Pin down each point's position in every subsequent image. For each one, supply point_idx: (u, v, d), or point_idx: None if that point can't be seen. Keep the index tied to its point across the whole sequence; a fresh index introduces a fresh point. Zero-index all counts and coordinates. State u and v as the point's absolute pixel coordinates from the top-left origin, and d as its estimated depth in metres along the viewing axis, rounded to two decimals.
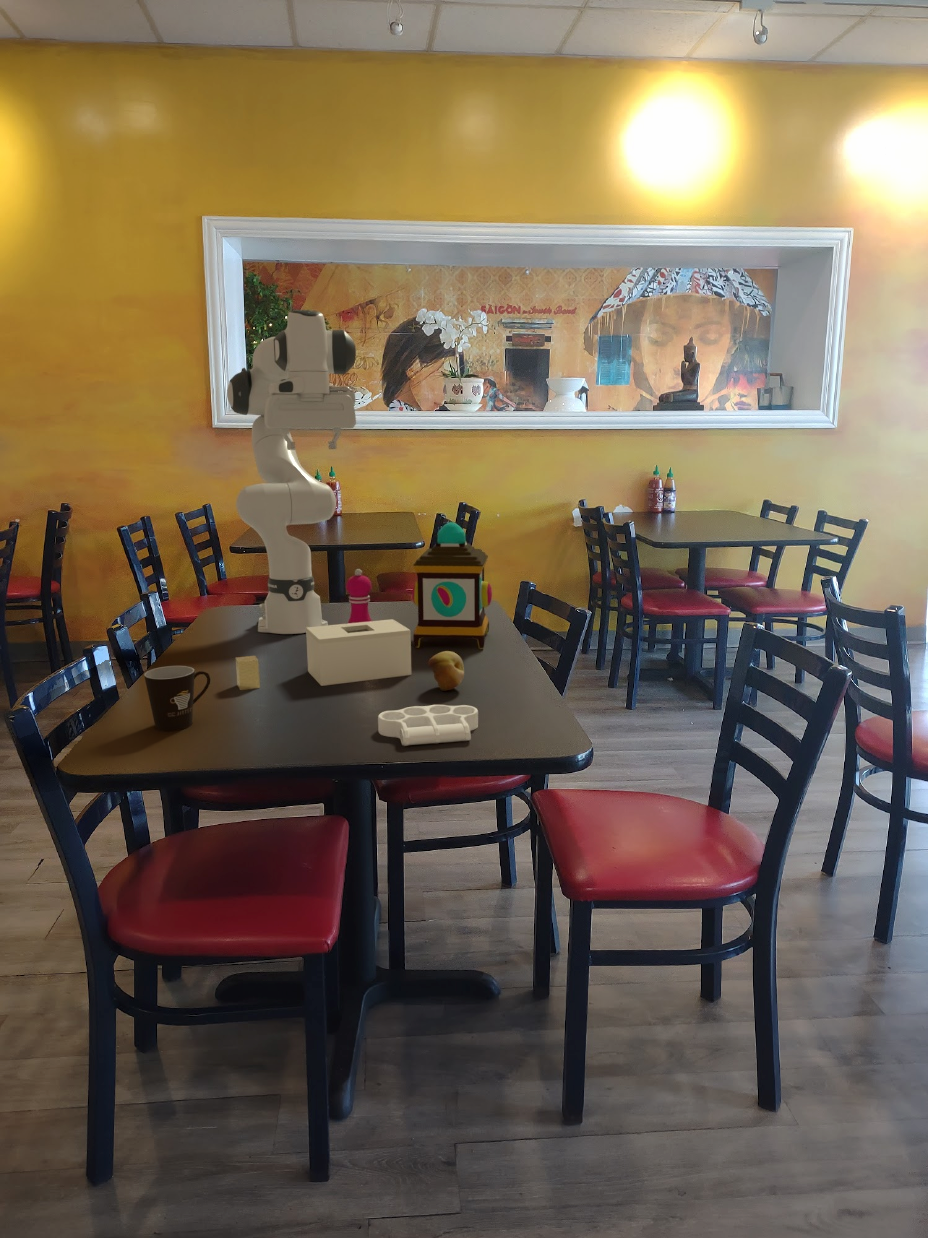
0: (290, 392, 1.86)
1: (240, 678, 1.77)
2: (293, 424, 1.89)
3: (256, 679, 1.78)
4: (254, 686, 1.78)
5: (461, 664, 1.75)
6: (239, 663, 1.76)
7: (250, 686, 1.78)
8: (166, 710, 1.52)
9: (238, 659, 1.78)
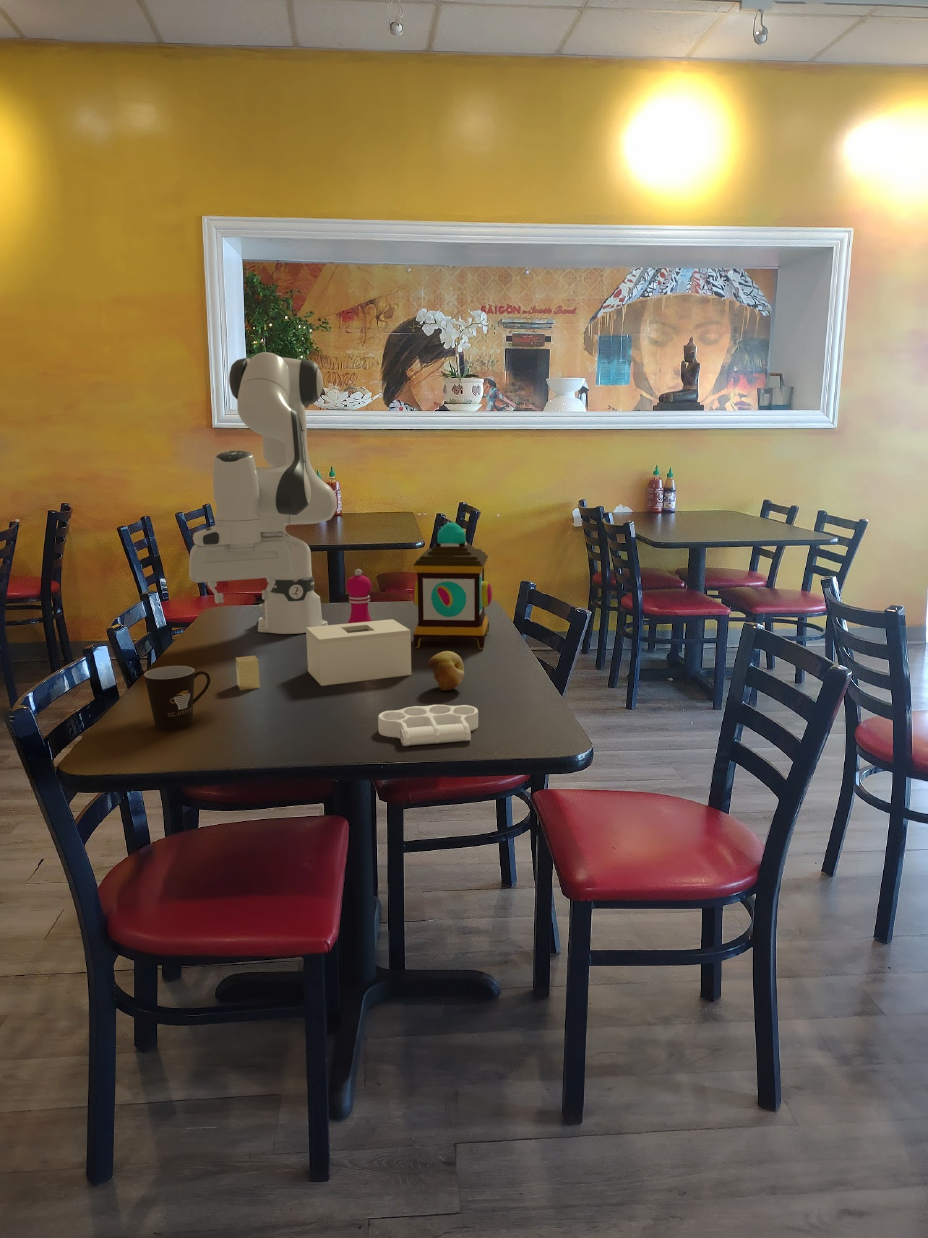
0: (216, 544, 1.68)
1: (240, 678, 1.77)
2: (220, 577, 1.71)
3: (256, 679, 1.78)
4: (254, 686, 1.78)
5: (461, 664, 1.75)
6: (239, 663, 1.76)
7: (250, 686, 1.78)
8: (166, 710, 1.52)
9: (238, 659, 1.78)
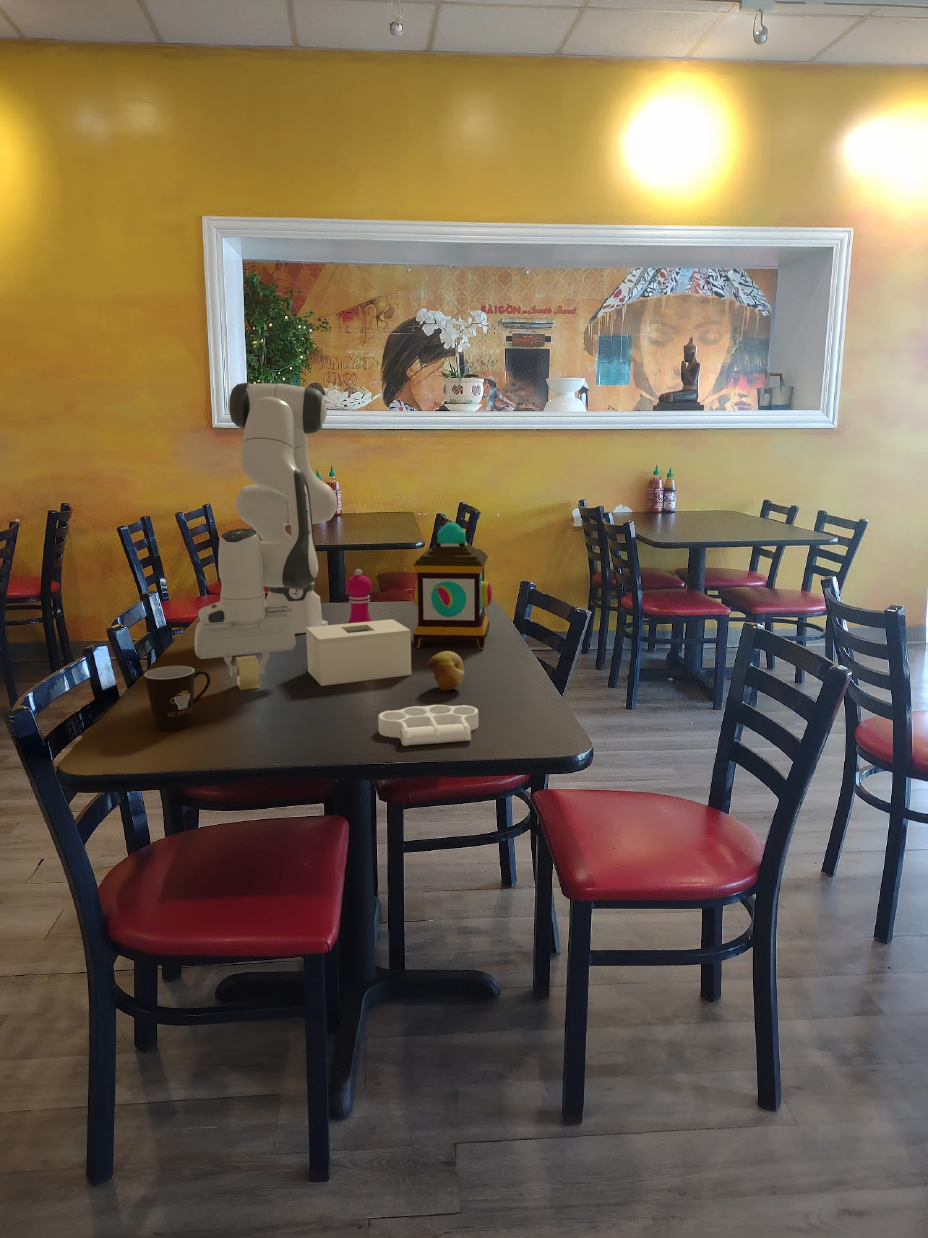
0: (221, 622, 1.71)
1: (240, 678, 1.77)
2: (226, 653, 1.75)
3: (256, 679, 1.78)
4: (254, 686, 1.78)
5: (461, 664, 1.75)
6: (239, 663, 1.76)
7: (250, 686, 1.78)
8: (166, 710, 1.52)
9: (238, 659, 1.78)
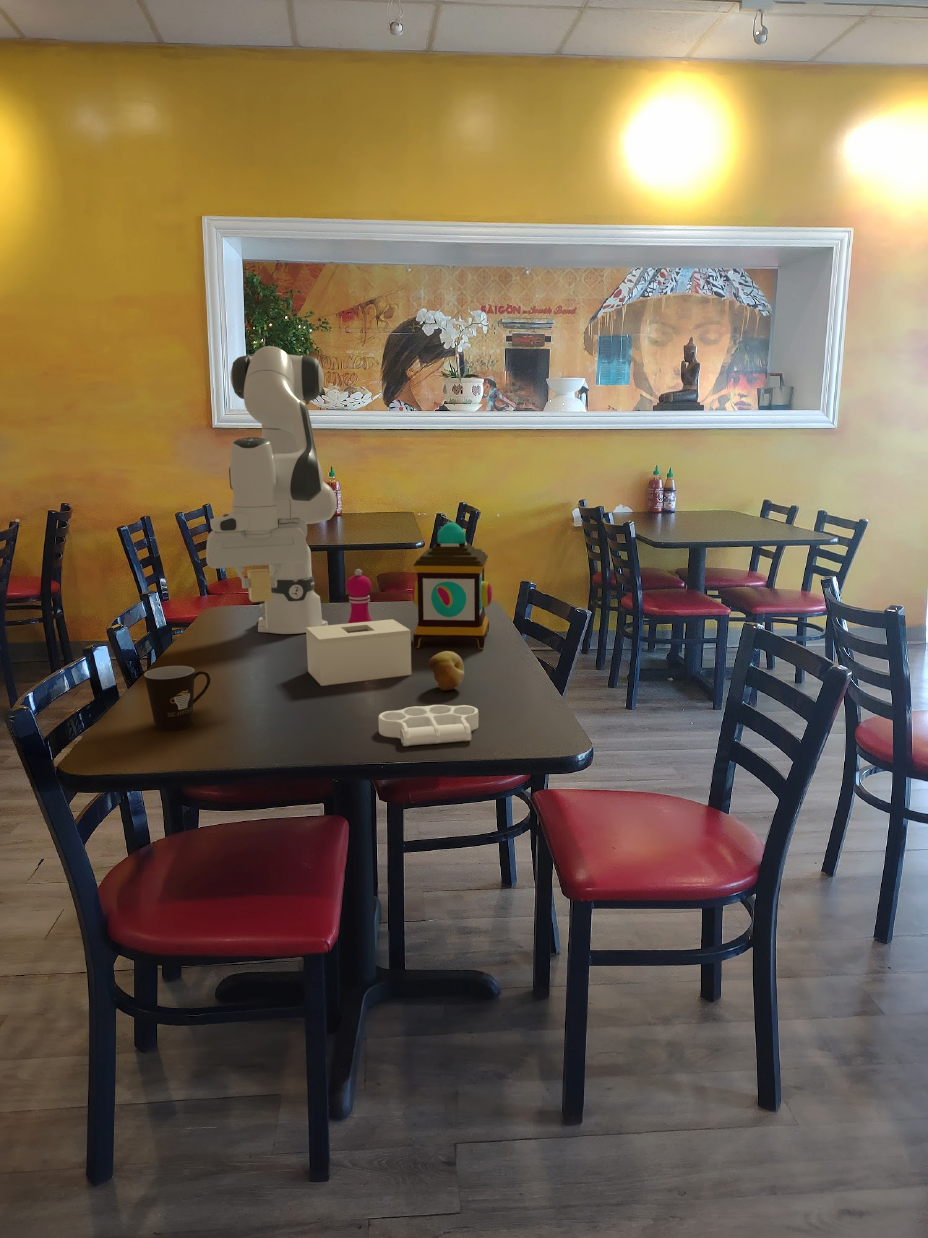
0: (233, 530, 1.69)
1: (252, 589, 1.74)
2: (237, 563, 1.72)
3: (268, 591, 1.75)
4: (266, 598, 1.76)
5: (461, 664, 1.75)
6: (251, 574, 1.73)
7: (262, 598, 1.75)
8: (166, 710, 1.52)
9: (250, 571, 1.75)
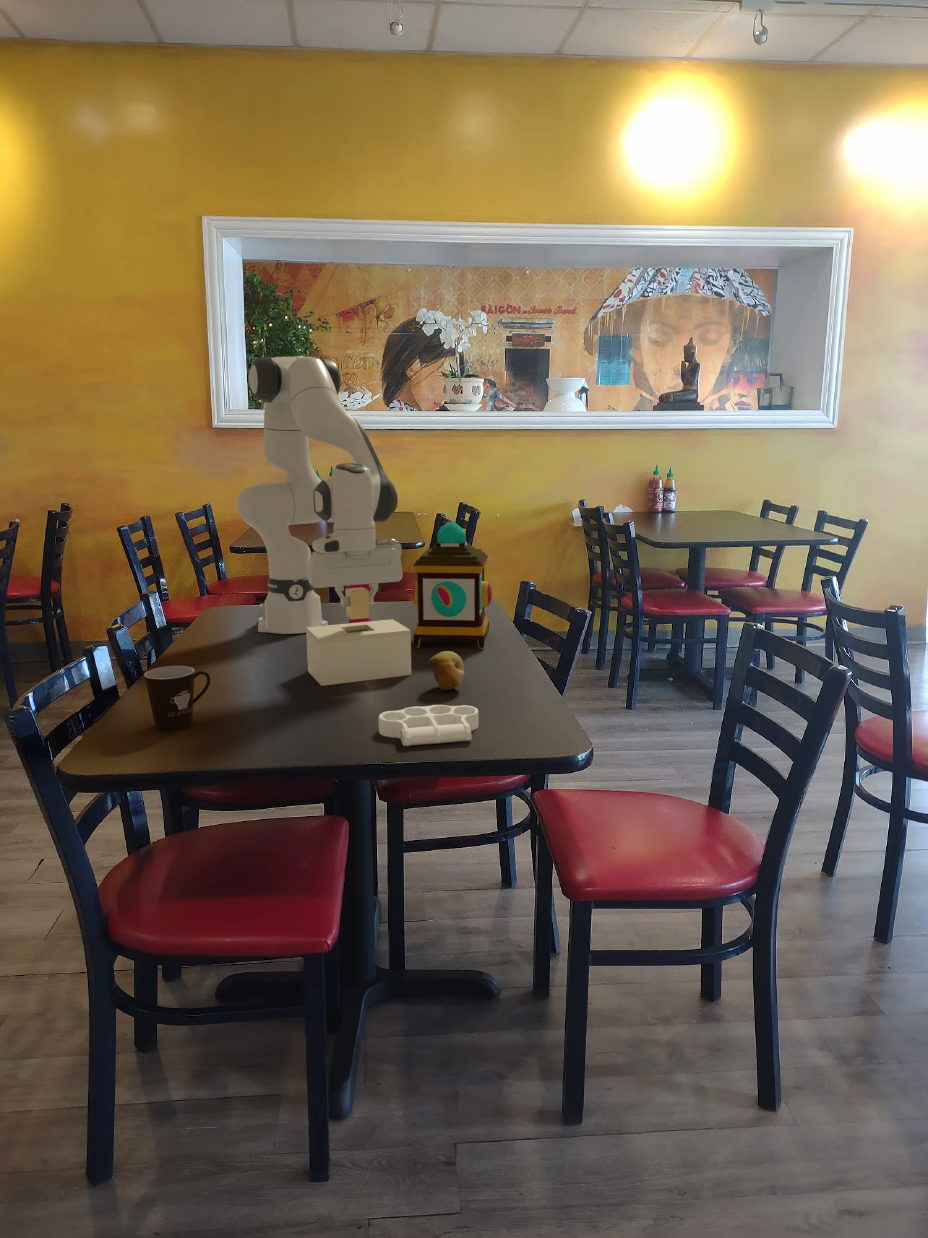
0: (336, 551, 1.78)
1: (351, 607, 1.83)
2: (338, 582, 1.81)
3: (366, 608, 1.84)
4: (364, 616, 1.84)
5: (461, 664, 1.75)
6: (351, 593, 1.82)
7: (360, 616, 1.84)
8: (166, 710, 1.52)
9: (349, 590, 1.84)
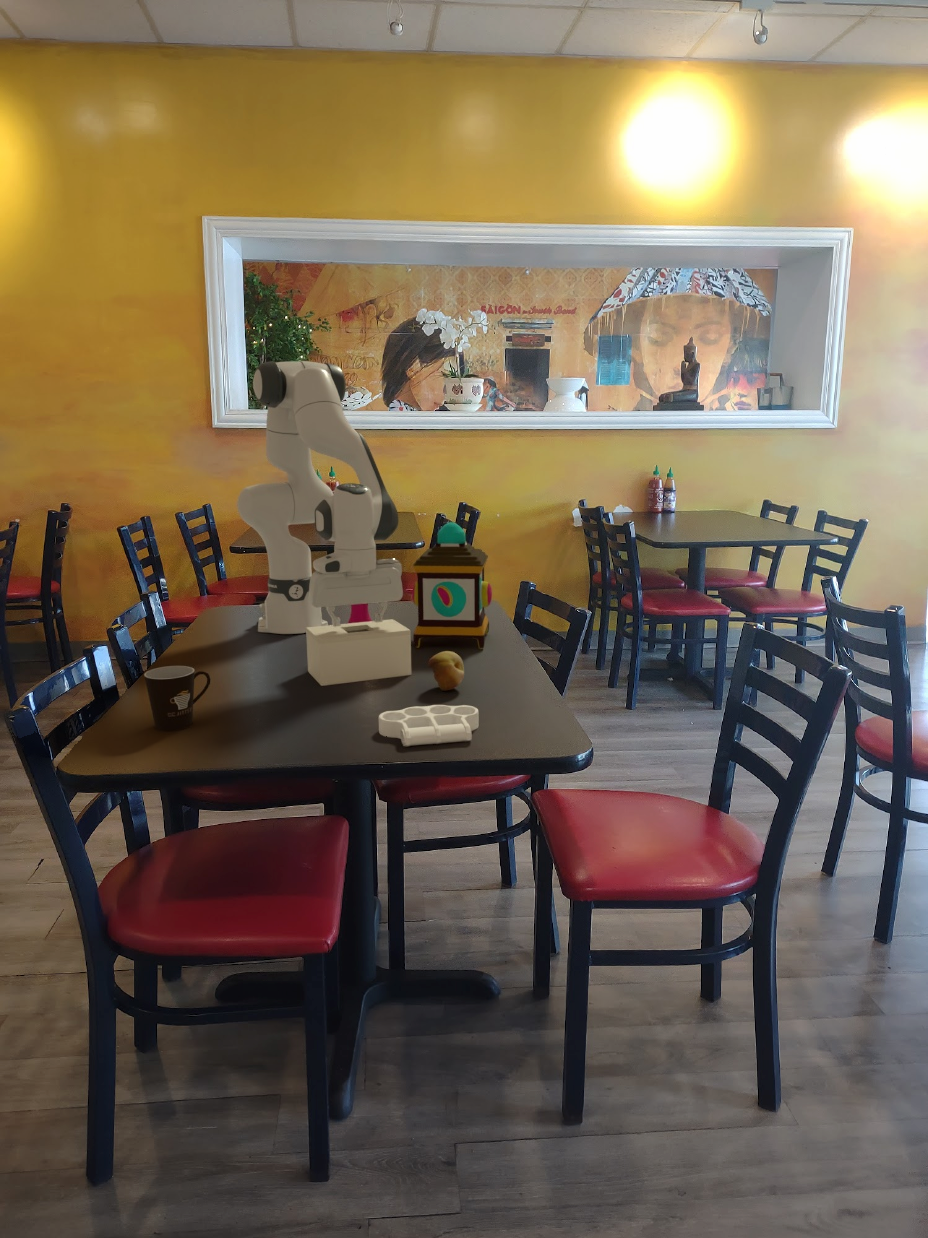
0: (337, 572, 1.79)
1: None
2: (339, 602, 1.82)
3: None
4: None
5: (461, 664, 1.75)
6: None
7: None
8: (166, 710, 1.52)
9: None
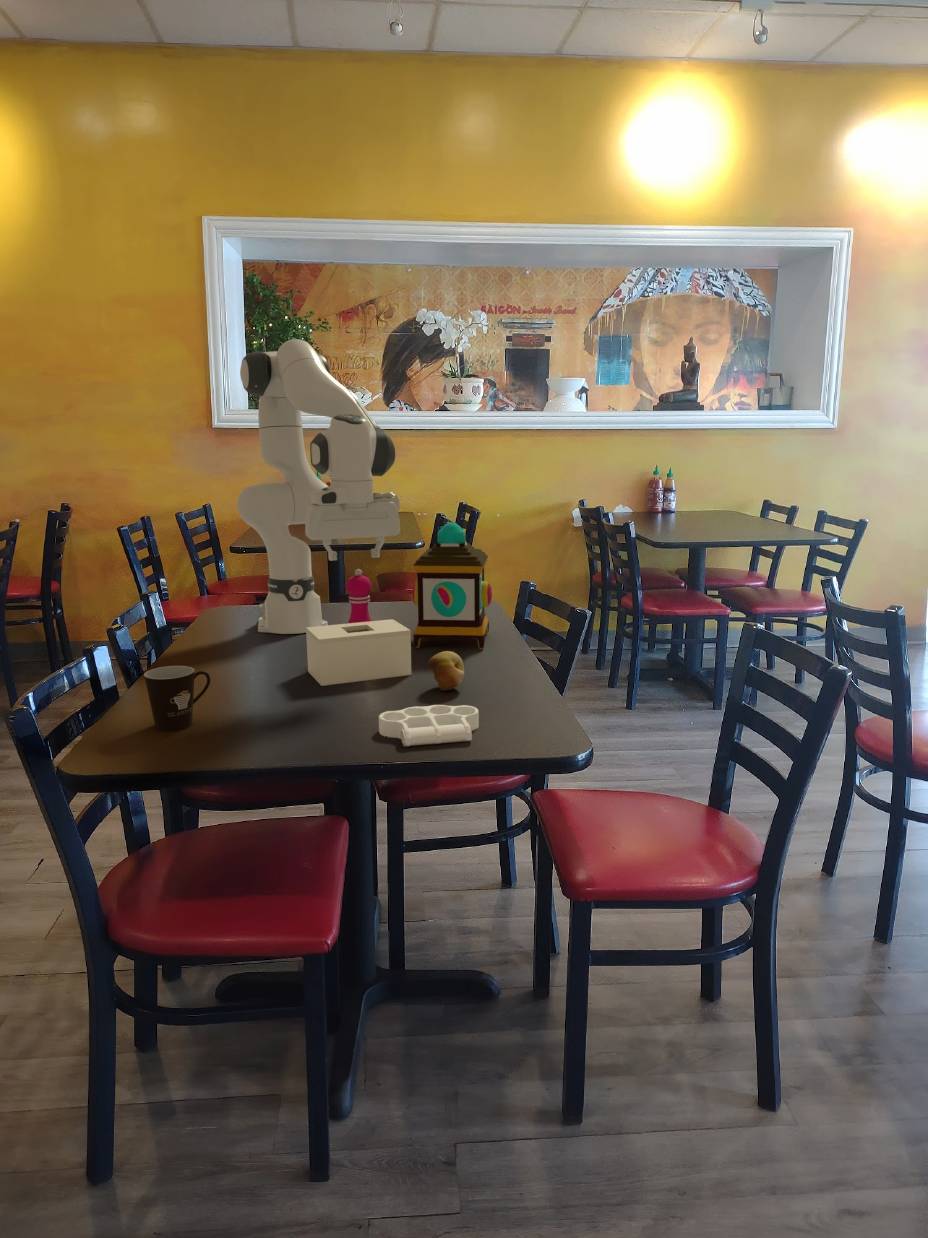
0: (333, 503, 1.76)
1: None
2: (336, 535, 1.79)
3: None
4: None
5: (461, 664, 1.75)
6: None
7: None
8: (166, 710, 1.52)
9: None
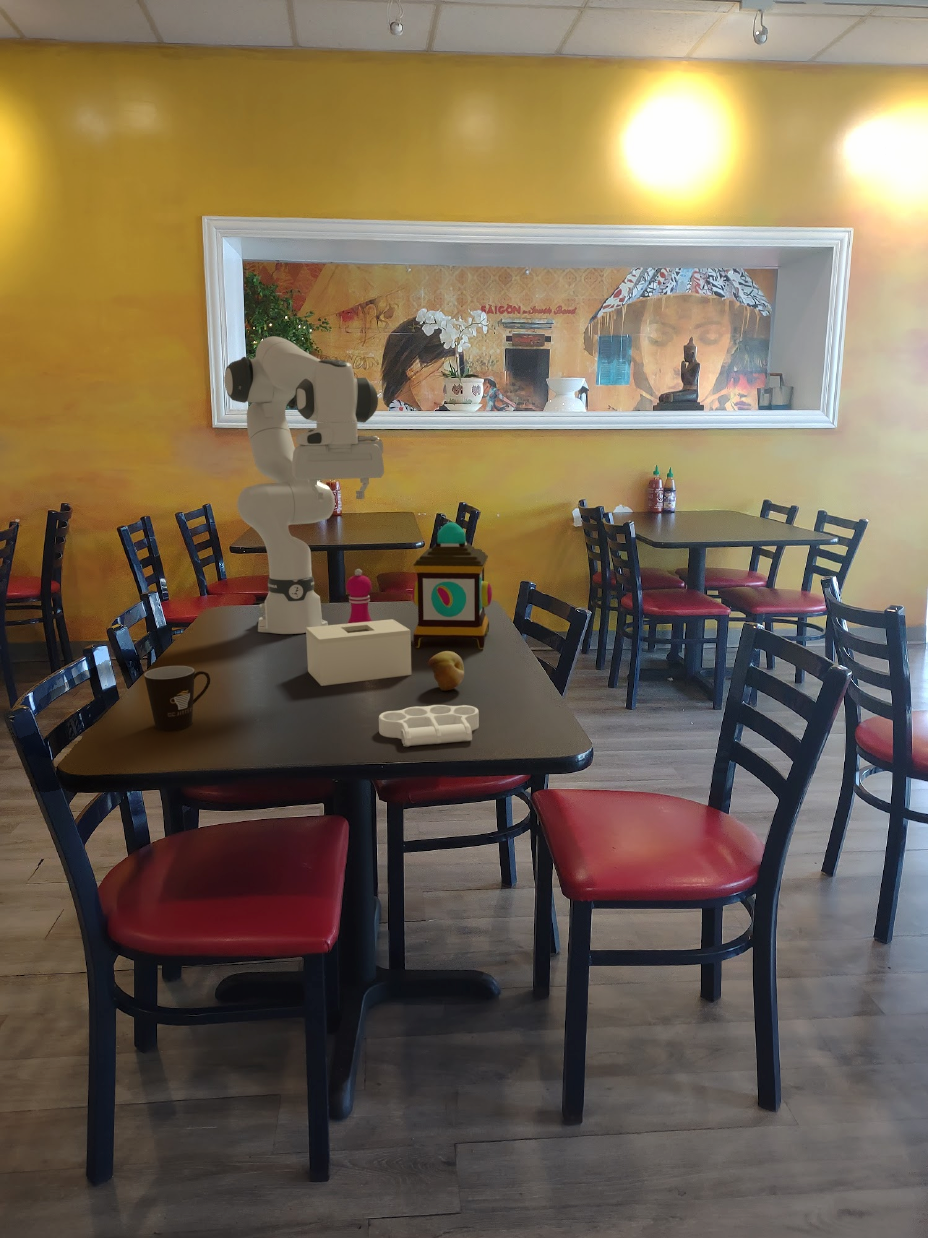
0: (319, 443, 1.83)
1: None
2: (321, 475, 1.86)
3: None
4: None
5: (461, 664, 1.75)
6: None
7: None
8: (166, 710, 1.52)
9: None
